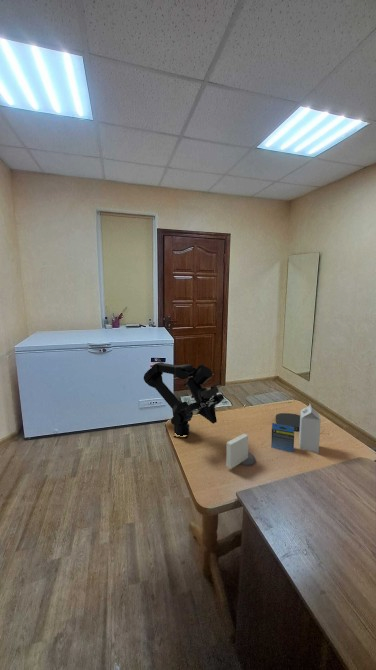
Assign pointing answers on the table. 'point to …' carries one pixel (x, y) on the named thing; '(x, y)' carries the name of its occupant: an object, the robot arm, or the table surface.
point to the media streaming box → (288, 420)
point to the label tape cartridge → (282, 437)
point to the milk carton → (309, 430)
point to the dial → (239, 452)
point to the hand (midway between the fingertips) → (215, 422)
